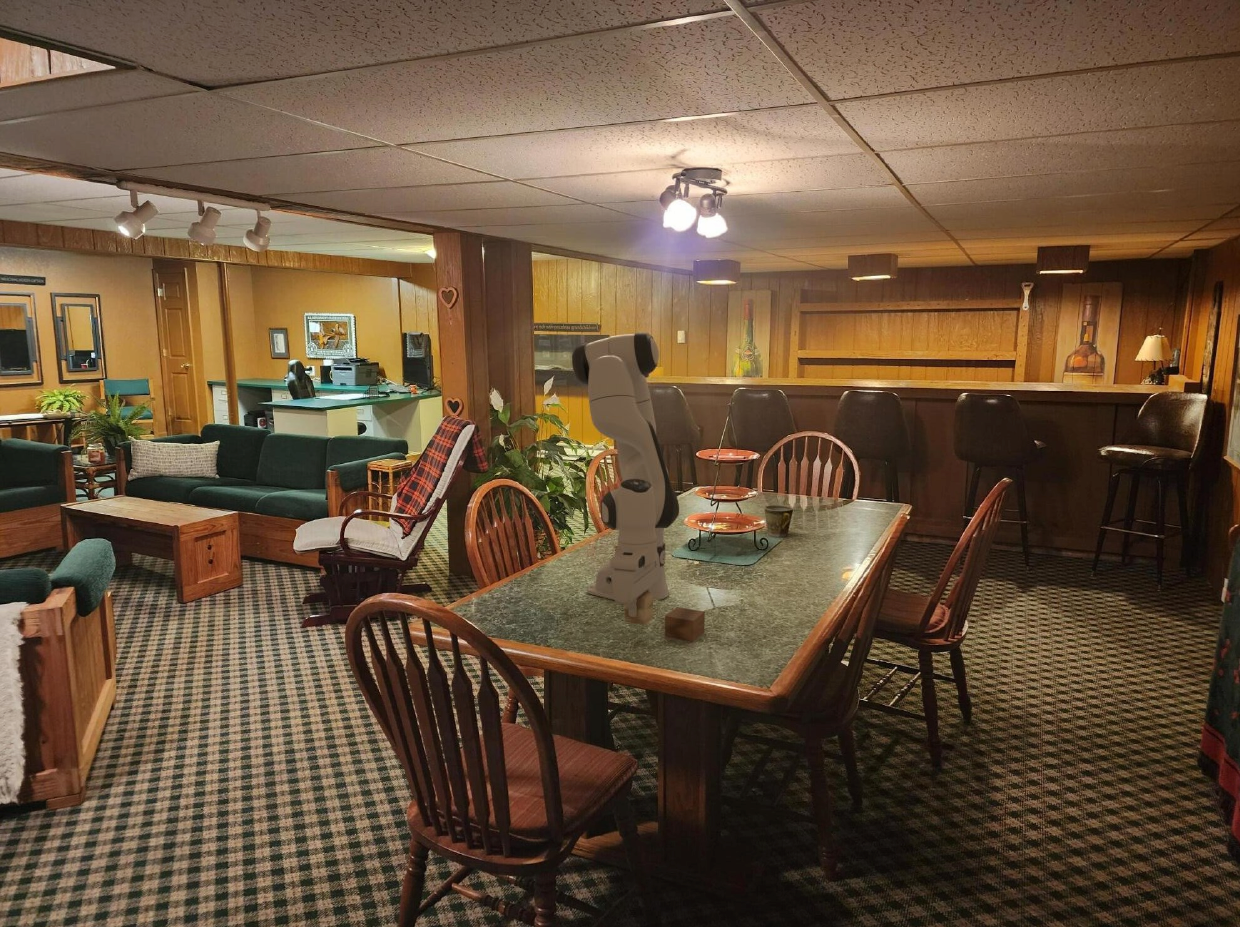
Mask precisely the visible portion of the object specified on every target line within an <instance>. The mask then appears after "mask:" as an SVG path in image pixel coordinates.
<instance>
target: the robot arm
mask: <svg viewBox="0 0 1240 927" xmlns="http://www.w3.org/2000/svg"><path fill="white" fill-rule="evenodd" d="M659 352H660V351H659V348H658V345H657V342H656V341H655V339H654V337H653V336H652V335H651V334H650V333H649V332H643V331H641V332H640V331H636V332H634V333H627V334H618V335H617V334H616V335H612V336H609V337H606V338H601V339H598V340H594V341H591V342H585V343H582V344H579V345H577V346H576V347H575V348H574V350H573V352H572V355H571V368H572V371H573V373H574V375H575V378H576V379H577V380H578V381H579V382H580V383H582V384H583V385H587V389H588V391H587V392H588V393H587V394H588V404H589V412H590V417H591V421H592V424H593V426H594V428H595V429H596V430H597V431H598V433H600V434H602V435H603V436H605V437H607V438H609V439H611V440H613V441H615V442H616V443H615V444H616V451H617V459H618V466H619V473H620V477H621V479H622V481H621V482H620V483H619V485H618V488H616V489H612V490H610V491H607V492H606V493H605V495H603V497H602V498H601V500H600V517H601V518H600V519H601V522H602V524H603V525H605V526H606V527H607V528H608V529H609V530H612V531H618V537H617V545H616V546H614V548H615V549H614V554H613V555H612V557H611V558H610V560H609V561H607V562H606V563H603V565H602V566H601V567H600V568H598V571H597V572H596V573H597V574H596V578H595V582H593V583H591V584H589V585H588V587H587V594H589V595H593V596H596V597H601V598H605V599H609V600H614V602H615V603H616V604H618V605H619V604H620V605H625V604H626V605H627V607H628V609H629V616H632V617H635V616H637V615H638V607H637V606H636V602H637V598H638V597H639V596H640V595H642V594H643V593H644V592H653V601H659V600H663V599H666V598H667V597H668V596H669V595H670V592H669V589H668V583H667V578H666V571H665V564H666V555H667V552H666V543H665V541H664V540H665V531H664V530H665V529H668V528H669V527H670V526H671V525H673V523H674V522H675V521H676V520H677V518H678V517H679V514H680V505H679V500H678V497H677V494H676V492H675V489H674V487H673V484H672V483H671V479H670V475H669V470H668V468H667V466H666V463H665V462H666V461H665V460H664V455H663V453H662V449H661V446H660V443H659V440H658V437H657V424H656V417H655V414H654V408H653V403H652V397H651V393H650V388H649V385H648V381H647V378H649V377H650V374H651V373H653V372H654V370H655V369H656V368H657V366H658V365H659V364H658V363H659V356H660V355H659V354H660V353H659Z"/></svg>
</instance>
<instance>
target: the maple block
mask: <svg viewBox="0 0 1240 927" xmlns="http://www.w3.org/2000/svg"><path fill="white" fill-rule="evenodd" d="M636 606H637V607H638V615H637V616H635V617H632V616H629V609H628V607H627V605H626V604H624V623H626V624H627V623H629V624H635V625H645V626H646V625H647V624H648V623H649V622H651V621H652V619H654V599H653V592H644V593H643V594H642V595H640V596H639V597H638V598H637V602H636Z"/></svg>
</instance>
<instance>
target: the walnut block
mask: <svg viewBox="0 0 1240 927" xmlns="http://www.w3.org/2000/svg"><path fill="white" fill-rule="evenodd" d="M705 613H706V611H703V610H699V609H691V608H685V607H679V606H676V607H675V608H674V609H672V610H671V611H670V612H668V613H667V614H666V615H664V635H665V637H669V638H674V639H680V640H685V641H690V642H694V641H695V640H696V639H697V638H698V637H699V636H700V635H702V634H703V633H704V631H705V618H706V617H705V615H706V614H705ZM674 639H673V640H674ZM685 641H684V642H685ZM690 642H689V643H690Z"/></svg>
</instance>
